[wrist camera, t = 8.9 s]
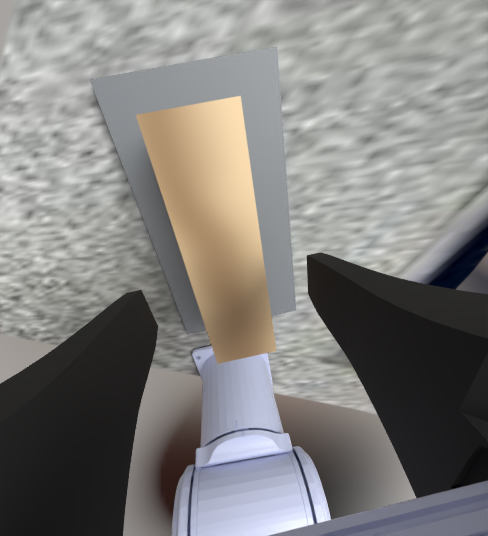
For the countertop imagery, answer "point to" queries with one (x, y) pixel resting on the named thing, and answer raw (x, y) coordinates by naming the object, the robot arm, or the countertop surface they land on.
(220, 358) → the board
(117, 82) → the flat gray rectangular plate
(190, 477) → the robot arm
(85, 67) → the countertop surface
